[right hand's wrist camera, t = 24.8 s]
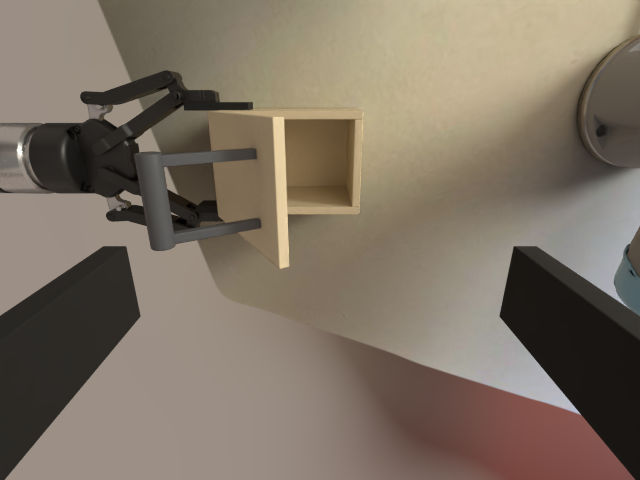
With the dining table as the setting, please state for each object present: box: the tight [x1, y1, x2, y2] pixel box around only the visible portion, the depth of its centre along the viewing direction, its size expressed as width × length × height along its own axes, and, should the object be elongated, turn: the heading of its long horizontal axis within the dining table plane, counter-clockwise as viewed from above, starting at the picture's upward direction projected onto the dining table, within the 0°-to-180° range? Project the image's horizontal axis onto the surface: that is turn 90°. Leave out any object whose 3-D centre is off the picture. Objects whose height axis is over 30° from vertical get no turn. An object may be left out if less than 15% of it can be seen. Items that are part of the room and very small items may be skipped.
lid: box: [134, 111, 289, 269], centre depth 28 cm, size 15×10×8 cm
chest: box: [218, 108, 363, 214], centre depth 41 cm, size 14×10×11 cm
